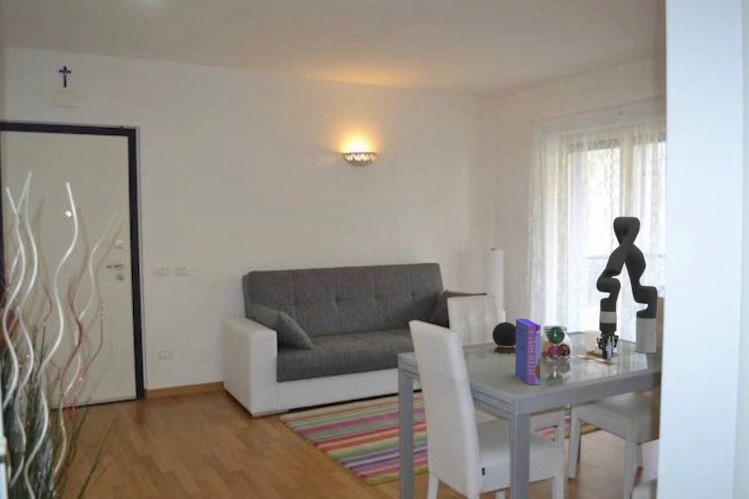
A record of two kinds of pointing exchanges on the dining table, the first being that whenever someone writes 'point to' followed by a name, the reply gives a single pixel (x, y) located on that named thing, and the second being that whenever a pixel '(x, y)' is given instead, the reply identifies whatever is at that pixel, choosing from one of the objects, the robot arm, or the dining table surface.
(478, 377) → the dining table surface
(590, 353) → the tray
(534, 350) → the cereal box
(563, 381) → the dining table surface
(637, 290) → the robot arm
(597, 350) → the die
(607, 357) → the pale blue capsule
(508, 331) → the black orb on stand
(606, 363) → the board
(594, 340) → the white cup
